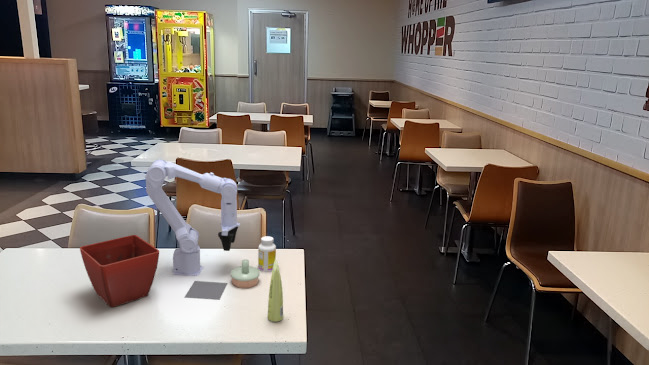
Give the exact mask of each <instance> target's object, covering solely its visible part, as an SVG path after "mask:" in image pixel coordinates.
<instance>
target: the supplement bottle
mask: <svg viewBox="0 0 649 365" xmlns="http://www.w3.org/2000/svg"><path fill="white" fill-rule="evenodd" d="M257 251H258V255H257V256H258V257H257V259H258V261H257V262H258V264H257V267H258V268H257V269H259V271H260V272H263V273H270V272H271V273H272V270H273V265H274V261H275V257H276V258H277V255H276V254H277V246H276V244H275V243H274V237H272V236H268V235H267V236H265V235H264V236H262V237H261V238H260V243H259V245H258V250H257Z"/></svg>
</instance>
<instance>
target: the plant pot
mask: <svg viewBox="0 0 649 365" xmlns="http://www.w3.org/2000/svg"><path fill="white" fill-rule="evenodd" d="M79 252H80V255H81V258H82V262H83V264H84V268H85V271H86V274H87V276H88V278H89V281H90V283H91V286H92V287H93V289H94V290H93V291H94V292H95V293H96V295H97V296H99V297H100V299H102V301H103V302H104V303H105V304H106V305H107V306H108V307H110V308H114V307H117V306H121V305H123V304H127V303H131V302H134V301H136V300H137V301H138V300H139V299H142V298H144V297H147V296H148V295H149V294H150V292H151V288H152V285H153V283H154V280H155V277H156V272H157V269H158V263H159V256H160V250H159V249H158V248H156V247H154V246H153V245H152V244H151V243H148V241H146V240H145V239H143V238H141V237H140V236H138V235H137V234H131V235H127V236H123V237H118V238H114V239H108V240H105V241H100V242H95V243H92V244H87V245H86V244H85V245H82V246H80V247H79Z"/></svg>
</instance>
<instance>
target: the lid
mask: <svg viewBox="0 0 649 365" xmlns="http://www.w3.org/2000/svg"><path fill="white" fill-rule="evenodd" d="M260 275H261V271H260V270H259V268H257V267H254V266H253V265H251V266H250V260H249V259H242V260H241V266H237V267H234V268H232V270H230V277H231V279H232V278H233V279H235V280H239V281H250V280H254V279H256V278H258V277H260Z"/></svg>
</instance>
